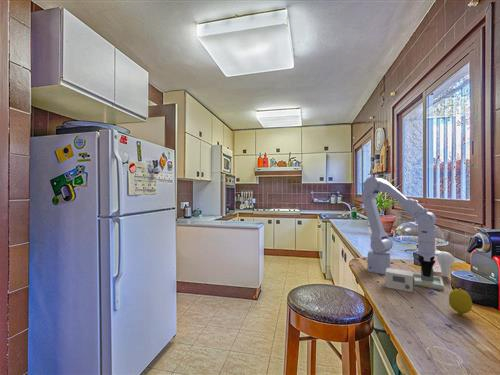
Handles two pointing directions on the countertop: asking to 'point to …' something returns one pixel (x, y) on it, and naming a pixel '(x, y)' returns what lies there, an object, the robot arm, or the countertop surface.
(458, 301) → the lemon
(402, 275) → the control box
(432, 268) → the block
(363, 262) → the countertop surface
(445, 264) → the lightbulb
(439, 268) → the beverage cup
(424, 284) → the parts tray
